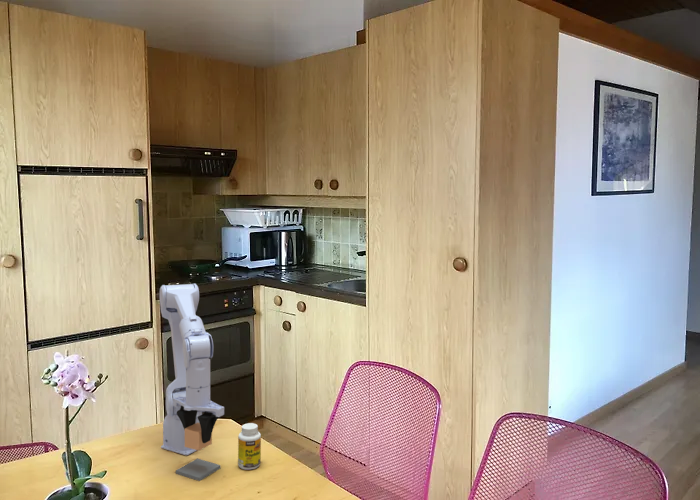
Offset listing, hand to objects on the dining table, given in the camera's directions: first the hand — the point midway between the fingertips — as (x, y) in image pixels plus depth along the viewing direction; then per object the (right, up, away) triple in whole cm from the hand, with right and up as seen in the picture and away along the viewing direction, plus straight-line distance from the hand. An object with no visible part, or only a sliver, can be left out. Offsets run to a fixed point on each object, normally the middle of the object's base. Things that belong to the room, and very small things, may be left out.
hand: (198, 439), depth 140 cm
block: (0, -2, 0) cm, 2 cm away
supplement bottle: (+12, -8, +4) cm, 15 cm away
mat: (0, -8, +1) cm, 8 cm away
